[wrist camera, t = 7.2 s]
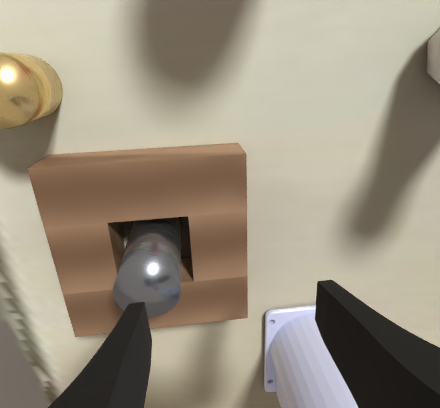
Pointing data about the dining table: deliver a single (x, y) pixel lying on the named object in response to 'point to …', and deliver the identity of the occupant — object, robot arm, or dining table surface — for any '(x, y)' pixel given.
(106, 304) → the hole block
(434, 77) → the salt shaker
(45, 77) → the short pin
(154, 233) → the long pin
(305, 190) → the dining table surface
